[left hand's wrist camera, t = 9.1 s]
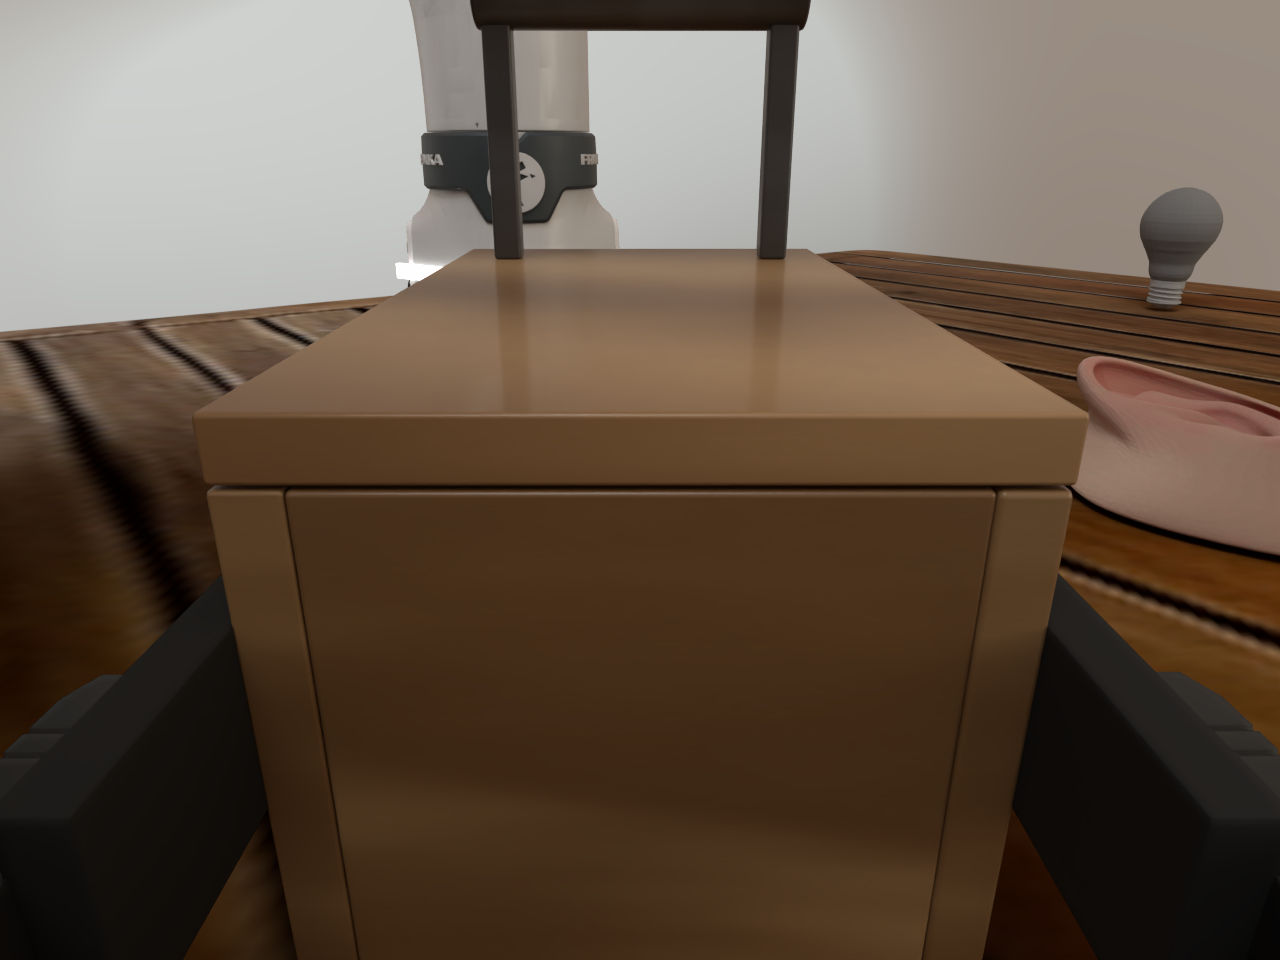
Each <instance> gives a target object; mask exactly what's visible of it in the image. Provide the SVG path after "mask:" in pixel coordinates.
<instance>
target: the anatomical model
mask: <svg viewBox="0 0 1280 960" xmlns="http://www.w3.org/2000/svg"><path fill="white" fill-rule="evenodd" d="M1077 381H1078V386H1079V389H1080V391H1081V393H1082V395H1083V397H1084V399H1085V400H1086V402H1087V404H1088V406H1089V411H1088V412H1087V413H1088V414H1089V423H1088V429H1087V434H1086V439H1085V444H1084V449H1083V454H1082V459H1081V464H1080V469H1079V474H1078V479H1077V482H1076V484H1075V485H1070V486H1071V487H1072V488H1073V489H1074V490H1075V491H1076V492H1078V493H1079V494H1080V495H1081V496H1083V497H1084V498H1085V499H1087V500H1088V501H1090V502H1092V503H1093V504H1095V505H1097V506H1099V507H1101V508H1103V509H1105V510H1108V511H1110V512H1113V513H1115V514H1118V515H1120V516H1123V517H1126V518H1129V519H1132V520H1135V521H1138V522H1141V523H1144V524H1147V525H1150V526H1154V527H1157V528H1160V529H1164V530H1168V531H1171V532H1175V533H1179V534H1183V535H1186V536H1190V537H1195V538H1199V539H1203V540H1207V541H1211V542H1216V543H1220V544H1224V545H1229V546H1233V547H1238V548H1242V549H1247V550H1252V551H1256V552H1262V553H1267V554H1272V555H1278V556H1280V407H1277V406H1274V405H1271V404H1268V403H1266V402H1263V401H1260V400H1257V399H1254V398H1251V397H1248V396H1245V395H1242V394H1239V393H1236V392H1233V391H1230V390H1227V389H1223V388H1220V387H1216V386H1213V385H1209V384H1206V383H1203V382H1199V381H1196V380H1193V379H1189V378H1186V377H1183V376H1179V375H1176V374H1173V373H1169V372H1166V371H1163V370H1159V369H1156V368H1152V367H1149V366H1145V365H1141V364H1138V363H1134V362H1130V361H1126V360H1121V359H1116V358H1111V357H1102V356H1096V357H1089V358H1087V359H1085V360H1083V361H1082V362H1081V363H1080V365H1079V367H1078V370H1077Z"/></svg>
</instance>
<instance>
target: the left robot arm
mask: <svg viewBox="0 0 1280 960" xmlns="http://www.w3.org/2000/svg"><path fill="white" fill-rule="evenodd" d="M1012 808H1013V809H1014V811H1015V813H1016V815H1017V816H1018V818H1019V820H1020V822H1021V823H1022V825H1023V827H1024V829H1025V831H1026V832H1027V834H1028V836H1029V838H1030V839H1031V841H1032V843H1033V845H1034V847H1035V848H1036V850H1037V852H1038V854H1039V855H1040V857H1041V859H1042V861H1043V862H1044V864H1045V866H1046V868H1047V870H1048V871H1049V873H1050V875H1051V877H1052V878H1053V880H1054V882H1055V884H1056V885H1057V887H1058V889H1059V891H1060V893H1061V894H1062V896H1063V898H1064V900H1065V901H1066V903H1067V905H1068V907H1069V909H1070V910H1071V912H1072V914H1073V916H1074V917H1075V919H1076V921H1077V923H1078V924H1079V926H1080V928H1081V930H1082V932H1083V933H1084V935H1085V937H1086V939H1087V940H1088V942H1089V944H1090V946H1091V947H1092V949H1093V951H1094V953H1095V955H1096V956H1097V958H1098V960H1280V755H1279V753H1278V749H1277V748H1276V747H1275V746H1274V745H1273V744H1272V743H1271V742H1270V741H1269V740H1268V739H1267V738H1266V737H1264V736H1263V735H1262V734H1261V733H1260V732H1259V731H1253V725H1252V724H1251V723H1250V722H1249V721H1247V720H1246V719H1245V718H1244V717H1243V716H1242V715H1241V714H1240V713H1239V712H1238V711H1237V710H1236V709H1235V708H1234V707H1233V706H1232V705H1230V704H1229V703H1228V702H1227V701H1226V700H1225V699H1224V698H1223V697H1222V696H1220V695H1218V694H1217V693H1215V692H1213V691H1211V690H1210V689H1208V688H1206V687H1205V686H1203V685H1201V684H1199V683H1198V682H1196V681H1194V680H1192V679H1191V678H1189V677H1187V676H1185V675H1184V674H1182V673H1180V672H1155V671H1154V670H1153V669H1152V668H1151V667H1150V666H1149V665H1148V664H1147V663H1146V662H1145V661H1144V660H1143V659H1142V658H1141V657H1140V656H1139V655H1138V654H1137V653H1136V652H1135V651H1134V650H1133V649H1132V648H1131V647H1130V646H1129V645H1128V644H1127V643H1126V642H1125V641H1124V639H1123V638H1122V637H1121V636H1120V635H1119V634H1118V633H1117V632H1116V631H1115V630H1114V629H1113V628H1112V627H1111V626H1110V625H1109V624H1108V623H1107V622H1106V621H1105V620H1104V619H1103V618H1102V617H1101V616H1100V615H1099V614H1098V613H1097V612H1096V611H1095V610H1094V609H1093V608H1092V607H1091V606H1090V605H1089V604H1088V603H1087V602H1086V601H1085V600H1084V599H1083V598H1082V597H1081V596H1080V595H1079V594H1078V593H1077V592H1076V591H1075V590H1074V589H1073V588H1072V587H1071V586H1070V585H1069V584H1068V583H1067V582H1066V581H1065V580H1064V579H1063V578H1062V577H1061V576H1060V575H1059V574H1058V576H1057V581H1056V586H1055V591H1054V596H1053V601H1052V606H1051V611H1050V616H1049V621H1048V627H1047V632H1046V637H1045V642H1044V647H1043V652H1042V657H1041V662H1040V667H1039V672H1038V677H1037V683H1036V688H1035V693H1034V698H1033V703H1032V708H1031V713H1030V718H1029V723H1028V728H1027V734H1026V739H1025V744H1024V749H1023V754H1022V759H1021V764H1020V769H1019V774H1018V779H1017V785H1016V790H1015V795H1014V800H1013V805H1012ZM267 809H268V805H267V800H266V794H265V789H264V784H263V779H262V774H261V769H260V764H259V759H258V754H257V749H256V743H255V738H254V733H253V728H252V723H251V718H250V713H249V708H248V703H247V698H246V692H245V687H244V682H243V677H242V672H241V667H240V662H239V657H238V652H237V647H236V642H235V636H234V631H233V627H232V623H231V618H230V613H229V608H228V603H227V598H226V593H225V588H224V582H223V577H222V575H221V576H220V577H219V578H218V579H217V580H216V581H215V582H214V583H213V584H212V585H211V586H210V587H209V588H208V589H207V590H206V591H205V592H204V593H203V594H202V595H201V596H200V597H199V598H198V599H197V600H196V601H195V602H194V603H193V604H192V605H191V606H190V607H189V608H188V609H187V610H186V611H185V612H184V613H183V614H182V615H181V616H180V617H179V618H178V619H177V620H176V621H175V622H174V623H173V624H172V625H171V626H170V627H169V628H168V629H167V630H166V631H165V632H164V633H163V634H162V635H161V637H160V638H159V639H158V640H157V641H156V642H155V643H154V644H153V645H152V646H151V647H150V648H149V649H148V650H147V651H146V652H145V653H144V654H143V655H142V656H141V657H140V658H139V659H138V660H137V661H136V662H135V663H134V664H133V665H132V666H131V667H130V668H129V669H128V670H127V671H126V672H125V673H124V674H123V675H101V676H99V677H98V678H96V679H94V680H92V681H91V682H89V683H87V684H86V685H84V686H82V687H80V688H79V689H77V690H75V691H73V692H72V693H70V694H68V695H67V696H65V697H63V698H61V699H60V700H59V701H58V702H57V703H56V704H55V705H53V706H52V707H51V708H50V709H49V710H48V711H47V712H46V713H45V714H44V715H43V716H42V717H41V718H40V719H39V720H38V721H37V722H36V723H34V724H33V725H32V726H31V727H30V731H29V734H23V735H22V736H21V737H20V738H19V739H18V740H17V741H15V742H14V743H13V744H12V745H11V746H10V747H9V748H8V749H7V750H6V751H5V752H4V757H3V759H0V960H183V958H184V956H185V955H186V953H187V951H188V949H189V947H190V946H191V944H192V942H193V940H194V939H195V937H196V935H197V933H198V932H199V930H200V928H201V926H202V924H203V923H204V921H205V919H206V917H207V916H208V914H209V912H210V910H211V908H212V907H213V905H214V903H215V901H216V900H217V898H218V896H219V894H220V893H221V891H222V889H223V887H224V885H225V884H226V882H227V880H228V878H229V877H230V875H231V873H232V871H233V870H234V868H235V866H236V864H237V862H238V861H239V859H240V857H241V855H242V854H243V852H244V850H245V848H246V846H247V845H248V843H249V841H250V839H251V838H252V836H253V834H254V832H255V831H256V829H257V827H258V825H259V823H260V822H261V820H262V818H263V816H264V815H265V813H266V811H267Z"/></svg>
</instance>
